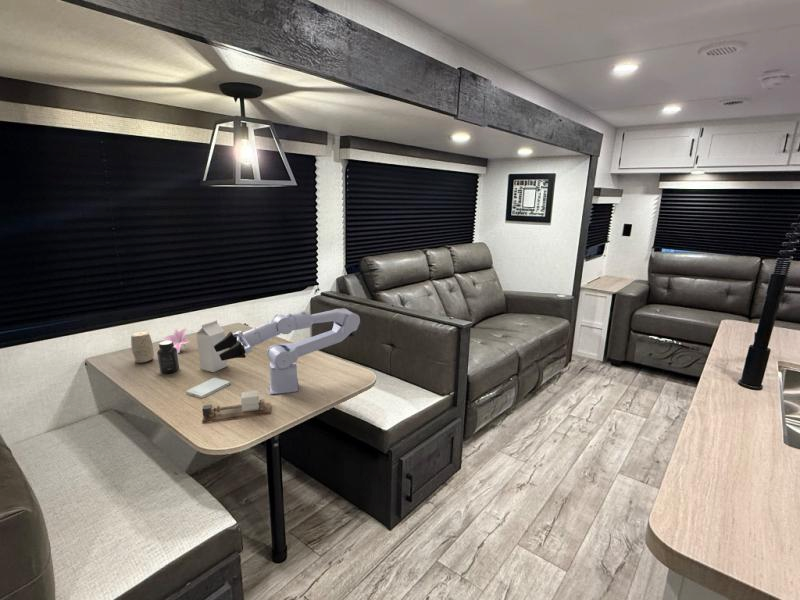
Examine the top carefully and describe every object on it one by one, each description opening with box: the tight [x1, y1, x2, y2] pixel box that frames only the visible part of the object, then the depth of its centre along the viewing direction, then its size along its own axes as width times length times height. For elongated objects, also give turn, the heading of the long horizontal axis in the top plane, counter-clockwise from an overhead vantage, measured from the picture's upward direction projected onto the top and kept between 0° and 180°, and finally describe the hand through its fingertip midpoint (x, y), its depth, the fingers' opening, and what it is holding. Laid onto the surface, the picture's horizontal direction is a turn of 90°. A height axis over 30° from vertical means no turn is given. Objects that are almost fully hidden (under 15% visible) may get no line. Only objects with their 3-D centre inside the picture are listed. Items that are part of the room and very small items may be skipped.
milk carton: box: [196, 319, 228, 373], centre depth 164 cm, size 7×7×19 cm
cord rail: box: [201, 399, 272, 423], centre depth 132 cm, size 20×6×4 cm, turn 108°
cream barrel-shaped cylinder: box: [130, 331, 155, 364], centre depth 170 cm, size 6×8×12 cm
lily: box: [163, 327, 190, 354], centre depth 184 cm, size 12×12×10 cm
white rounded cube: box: [240, 390, 260, 412], centre depth 133 cm, size 5×4×5 cm
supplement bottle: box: [156, 340, 180, 375], centre depth 161 cm, size 7×7×12 cm
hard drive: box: [184, 377, 231, 400], centre depth 149 cm, size 2×8×12 cm
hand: (217, 353), depth 134 cm, fingers open, 7 cm apart
